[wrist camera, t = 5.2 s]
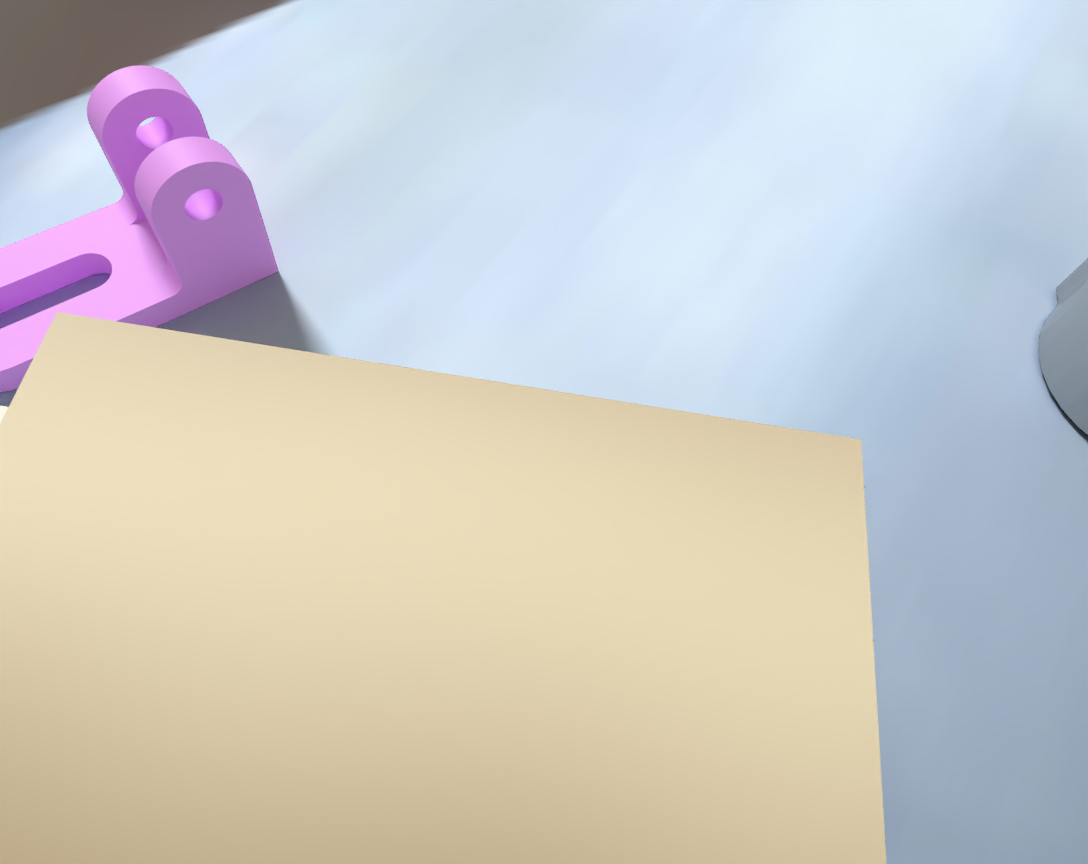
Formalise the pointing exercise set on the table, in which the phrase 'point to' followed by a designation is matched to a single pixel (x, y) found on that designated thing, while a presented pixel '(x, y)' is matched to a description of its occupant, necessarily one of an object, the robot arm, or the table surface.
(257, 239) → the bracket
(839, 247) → the table surface
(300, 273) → the table surface
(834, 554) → the maple pillar
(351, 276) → the table surface
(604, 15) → the table surface
